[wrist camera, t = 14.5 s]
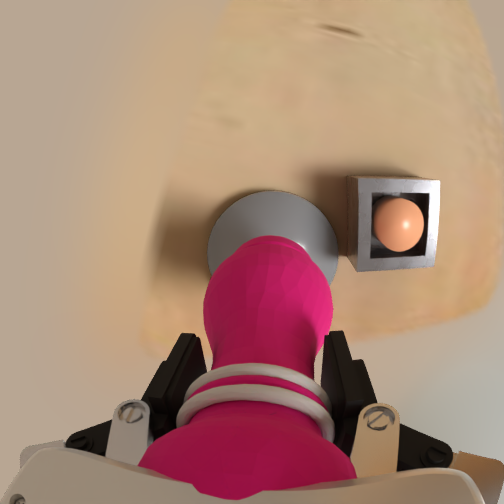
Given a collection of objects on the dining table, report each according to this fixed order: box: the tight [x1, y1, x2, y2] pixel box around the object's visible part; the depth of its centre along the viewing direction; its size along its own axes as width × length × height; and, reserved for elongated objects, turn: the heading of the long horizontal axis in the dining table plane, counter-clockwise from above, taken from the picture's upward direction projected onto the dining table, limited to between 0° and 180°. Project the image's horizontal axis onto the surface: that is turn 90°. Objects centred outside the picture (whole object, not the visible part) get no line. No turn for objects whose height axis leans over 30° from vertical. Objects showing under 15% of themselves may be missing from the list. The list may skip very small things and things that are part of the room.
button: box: [371, 195, 424, 252], centre depth 20 cm, size 4×4×2 cm
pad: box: [207, 190, 338, 286], centre depth 24 cm, size 11×11×1 cm
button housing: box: [347, 176, 440, 272], centre depth 21 cm, size 7×7×4 cm
